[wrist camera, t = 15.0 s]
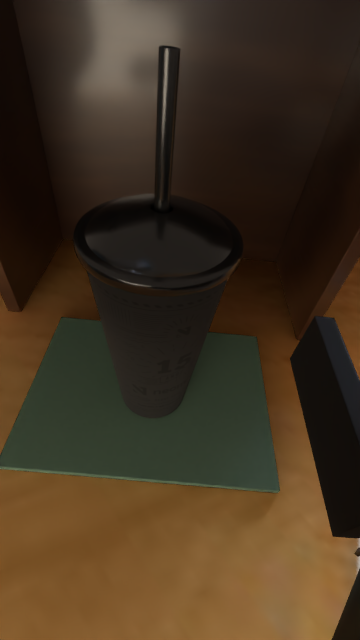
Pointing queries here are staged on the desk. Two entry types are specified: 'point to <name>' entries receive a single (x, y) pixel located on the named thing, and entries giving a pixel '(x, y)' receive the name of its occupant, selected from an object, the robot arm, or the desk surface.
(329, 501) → the robot arm
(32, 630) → the desk surface
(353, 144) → the cabinet
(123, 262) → the drinking cup
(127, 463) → the mat
